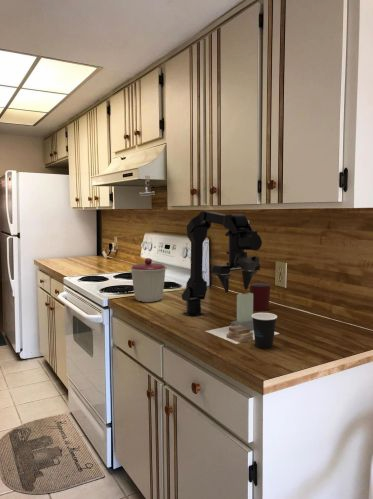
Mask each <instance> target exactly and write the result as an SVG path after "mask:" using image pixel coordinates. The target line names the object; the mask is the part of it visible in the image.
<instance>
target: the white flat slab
mask: <svg viewBox="0 0 373 499" xmlns="http://www.w3.org/2000/svg"><path fill="white" fill-rule="evenodd" d="M237 325H241V326H243V327H246V328H248V329H250V332H253V340H250V341H249V342H251V341H255V337H254V327H253V321H251V322H246V323H241V324H240V323H237V320H234V321H231V322H230V325H227V326H224V327H219V328H212V329H210V330H205V332H206V333H208V334H211V335H214V336H215V337H218V338H220V339H224V340H226V341H229V342H230V343H233V344H236V345H238V344H240V343H239V342H237V341H234V340H232V339H229V338H227V334H229V327H231V326H237ZM279 334H280V332H277V331H275V332H274V336H275V335H279ZM246 342H247V343H248V341H246ZM246 342H245V343H246Z"/></svg>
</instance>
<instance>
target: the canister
mask: <svg viewBox="0 0 373 499" xmlns="http://www.w3.org/2000/svg"><path fill="white" fill-rule="evenodd" d="M152 262H153V260H152V258H149V257H146V258H145V259H144V263H143V262H142V263H136V264H134V265H132V266H131V267H130V268H129V269H130V270H131V271H130V272H131V278H132V279H131V280H132V286H133V292H134V293H133V294H134V298H135V299H136V301H138V302H140V301H142V302H141V303H155V301H156V302H159V301H161V300H162V298H163V295H164V290H165V289H164V288H165V279H166V270H167V266H166V265H164V264H162V263H157V262H156V263H154V262H153V263H152Z"/></svg>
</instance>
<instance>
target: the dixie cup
mask: <svg viewBox="0 0 373 499" xmlns="http://www.w3.org/2000/svg"><path fill="white" fill-rule="evenodd" d="M252 317H253V327H254V337H255V340H254V346H255V347H256V348H258V349H261V350H264V349H265V350H269V349H272V348H273V346H274V341H275V340H274V338H275V335H274V332H276V331H275V330H276V324H277V323H276V322H277V318H278V315H276V314H274V313H269V312H255V313H253V314H252Z"/></svg>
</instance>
